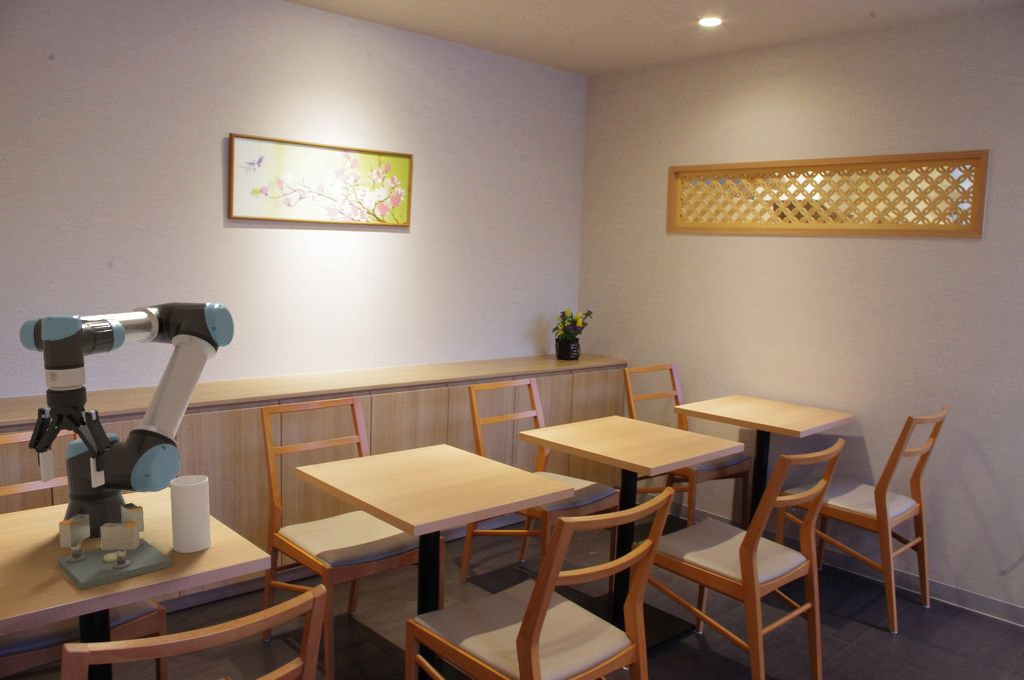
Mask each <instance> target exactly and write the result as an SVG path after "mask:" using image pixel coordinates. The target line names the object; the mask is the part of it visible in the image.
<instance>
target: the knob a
mask: <svg viewBox="0 0 1024 680" xmlns="http://www.w3.org/2000/svg"><path fill="white" fill-rule="evenodd" d="M58 530H59V544H60V545H59V547H60V548H65V549H66V548H67V549H68V548H69V549H70V550H71V555H72V557H79V556H81V553H82V550H81V549H82V546H81V542H83V541H85V540H86V539H88V538H90V537H89V536H90V526H89V514H78V515H76V516H74V517H72V518H71V519H69V520H64V519H63V520H61V521H59V522H58Z"/></svg>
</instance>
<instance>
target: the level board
mask: <svg viewBox="0 0 1024 680" xmlns="http://www.w3.org/2000/svg"><path fill="white" fill-rule="evenodd" d="M139 541H140V546H139V547H137V548H136V549H135V550H126V562H125V563H120V564H119V563H117V554H116V550H102V547H98V548H94V549H91V550H87V551H83V552H82V551H81V556H79V557H72V554H70V555H65V556H62V557H57V558H56V561H57V562H56V564H57V566H58V567H59V568H60V569H61V570H62V571H63V573H65V574H66V575H67V576H68V577H69V578H70V579H71V581H73V582H74V583H75V585H77V586H78V588H80V590H82V591H84V590H88V589H91V588H96V587H98V586H102V585H106V584H110V583H114V582H118V581H122V580H126V579H129V578H132V577H136V576H140V575H143V574H147V573H150V572H155V571H157V570H158V571H159V570H162V569H165V568H169V567H172V566H173V563H172V559H171V558H170V557H169V556H168V555H166V554H165V553H164V552H162V551H160V550H159V549H158V548H156V547H155V546H153V545H152V544H151V543H150V542H148V541H147V540H145V539H144V538H143V537H141V538H140V537H139Z"/></svg>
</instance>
